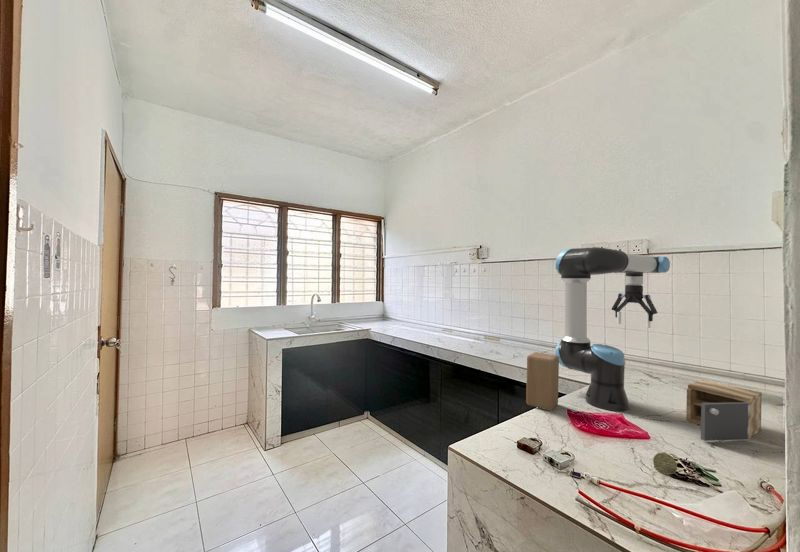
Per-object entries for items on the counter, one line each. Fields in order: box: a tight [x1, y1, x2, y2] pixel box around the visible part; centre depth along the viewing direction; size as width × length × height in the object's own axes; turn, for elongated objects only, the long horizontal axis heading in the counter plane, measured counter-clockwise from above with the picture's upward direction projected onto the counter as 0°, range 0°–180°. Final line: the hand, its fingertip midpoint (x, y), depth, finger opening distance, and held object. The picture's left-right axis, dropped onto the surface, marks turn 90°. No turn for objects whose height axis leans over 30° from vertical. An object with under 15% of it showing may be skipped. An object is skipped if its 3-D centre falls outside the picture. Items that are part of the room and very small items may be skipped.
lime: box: [652, 452, 678, 476], centre depth 88 cm, size 4×5×5 cm
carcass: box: [685, 379, 763, 440], centre depth 118 cm, size 14×16×13 cm
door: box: [700, 402, 750, 442], centre depth 105 cm, size 3×16×12 cm, turn 96°
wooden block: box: [525, 351, 560, 411], centre depth 134 cm, size 10×10×20 cm
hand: (633, 325), depth 172 cm, fingers open, 13 cm apart
